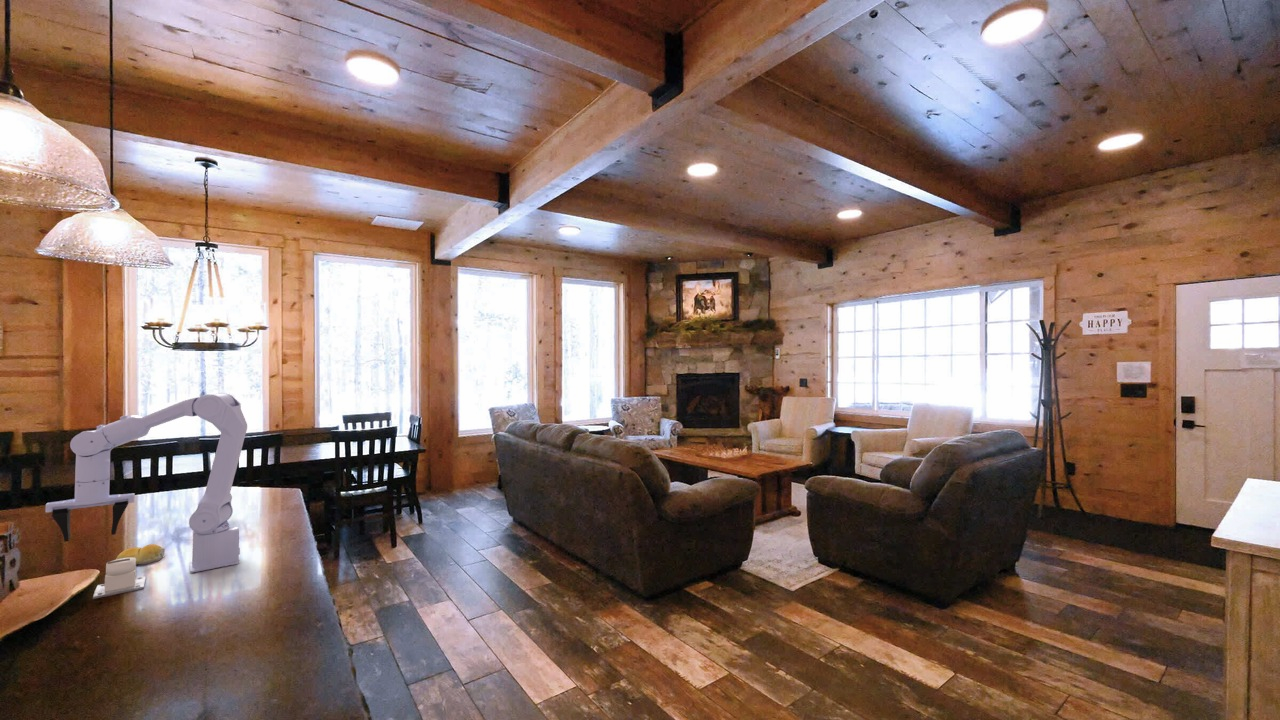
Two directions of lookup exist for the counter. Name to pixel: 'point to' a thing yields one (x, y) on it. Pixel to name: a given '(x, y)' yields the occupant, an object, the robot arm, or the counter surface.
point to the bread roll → (143, 554)
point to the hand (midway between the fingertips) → (90, 536)
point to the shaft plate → (102, 593)
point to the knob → (120, 573)
